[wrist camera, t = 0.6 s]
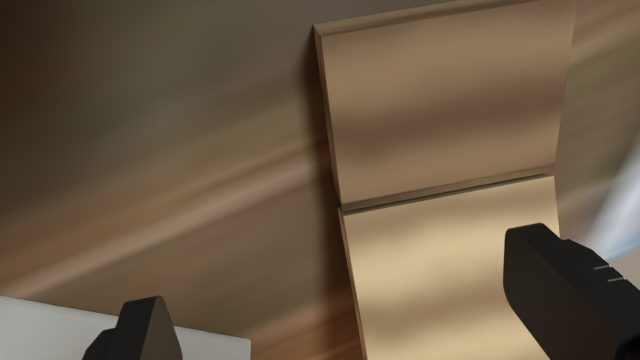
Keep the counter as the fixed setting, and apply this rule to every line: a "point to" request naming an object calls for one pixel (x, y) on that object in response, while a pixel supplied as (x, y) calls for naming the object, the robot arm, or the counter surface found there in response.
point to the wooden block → (443, 96)
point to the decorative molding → (90, 334)
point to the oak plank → (443, 272)
